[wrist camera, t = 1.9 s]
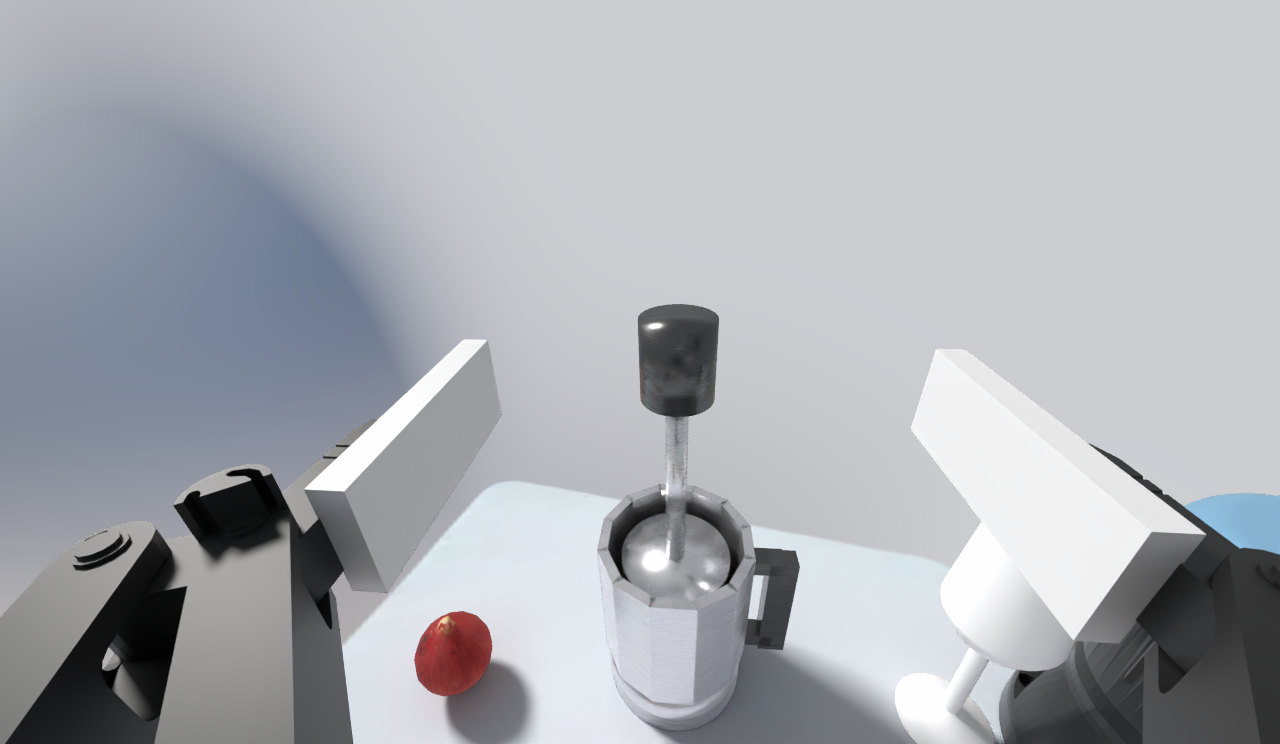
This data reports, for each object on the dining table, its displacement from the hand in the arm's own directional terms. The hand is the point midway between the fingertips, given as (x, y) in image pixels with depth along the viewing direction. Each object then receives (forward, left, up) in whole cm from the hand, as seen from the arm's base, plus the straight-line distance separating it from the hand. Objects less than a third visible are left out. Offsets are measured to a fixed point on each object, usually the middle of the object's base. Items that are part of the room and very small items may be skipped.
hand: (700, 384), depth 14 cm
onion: (+19, -8, -34) cm, 40 cm away
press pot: (-1, -11, -34) cm, 36 cm away
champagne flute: (-20, -8, -34) cm, 41 cm away
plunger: (+1, -11, -22) cm, 24 cm away
